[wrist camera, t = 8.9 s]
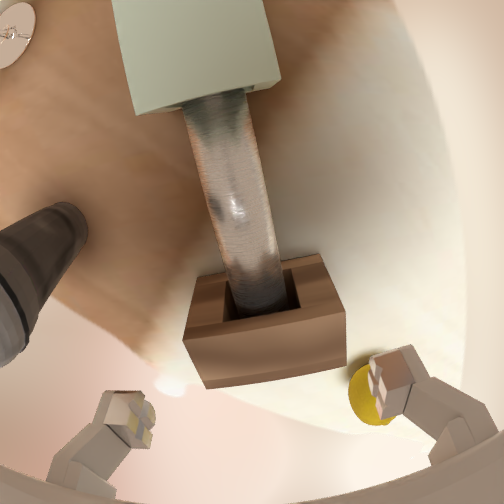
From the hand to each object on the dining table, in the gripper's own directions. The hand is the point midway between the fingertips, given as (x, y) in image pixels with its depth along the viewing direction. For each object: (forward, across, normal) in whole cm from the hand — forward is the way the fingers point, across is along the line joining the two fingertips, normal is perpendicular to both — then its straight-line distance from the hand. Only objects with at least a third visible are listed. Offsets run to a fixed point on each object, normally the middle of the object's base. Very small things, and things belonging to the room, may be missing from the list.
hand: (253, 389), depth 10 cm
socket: (+15, 0, +6) cm, 16 cm away
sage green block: (+15, 0, -13) cm, 20 cm away
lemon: (+15, -9, +19) cm, 26 cm away
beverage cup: (+15, +15, -3) cm, 22 cm away
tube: (+13, 0, -1) cm, 13 cm away
